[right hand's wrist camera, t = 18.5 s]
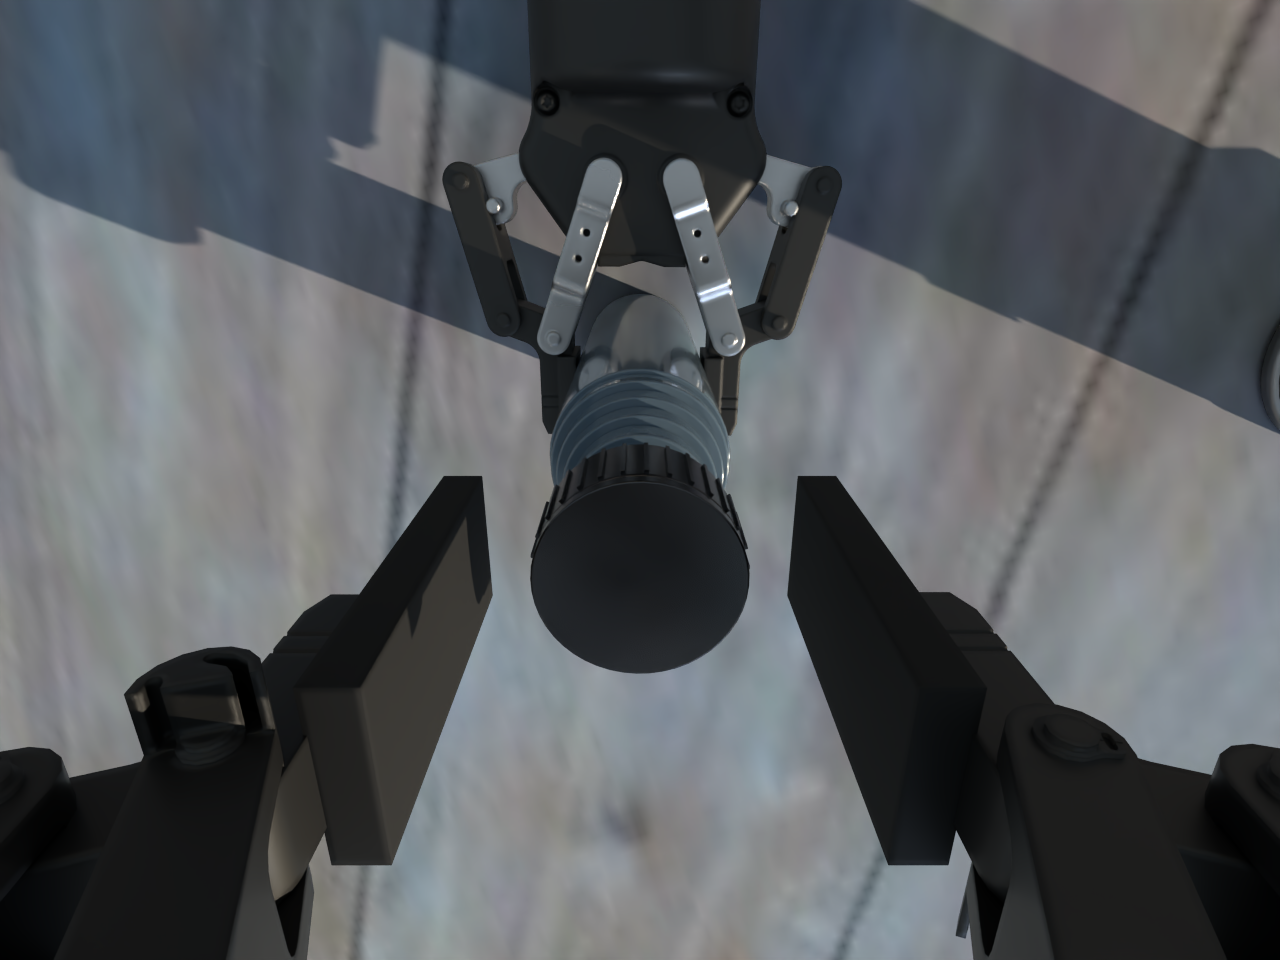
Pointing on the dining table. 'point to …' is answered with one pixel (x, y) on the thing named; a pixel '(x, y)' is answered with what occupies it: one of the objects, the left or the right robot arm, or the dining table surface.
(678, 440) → the bottle
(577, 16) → the left robot arm
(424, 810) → the dining table surface
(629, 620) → the cap
